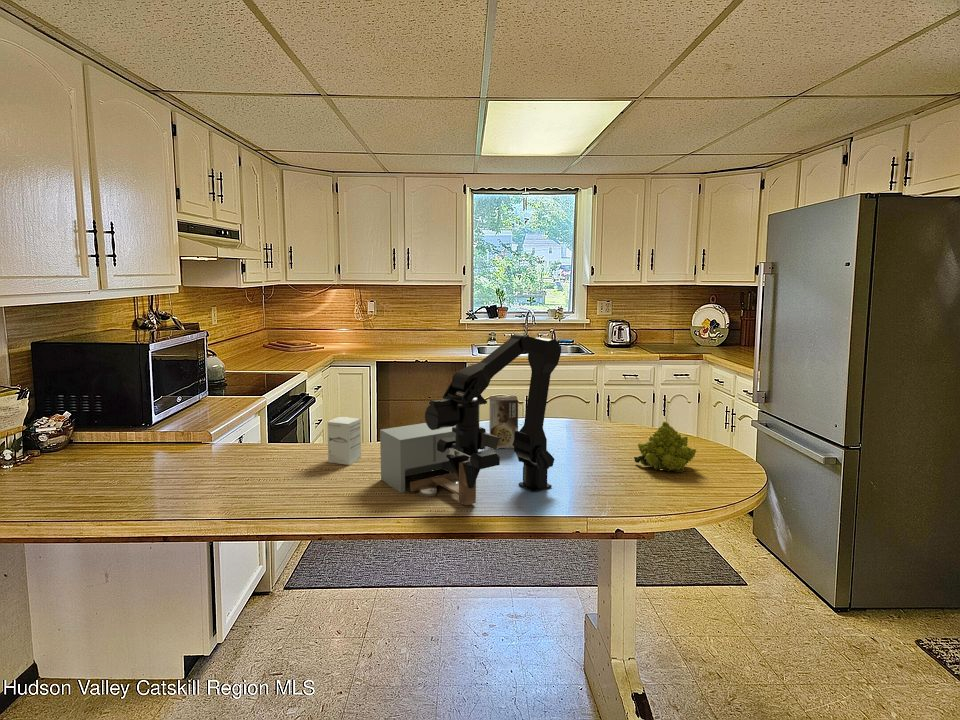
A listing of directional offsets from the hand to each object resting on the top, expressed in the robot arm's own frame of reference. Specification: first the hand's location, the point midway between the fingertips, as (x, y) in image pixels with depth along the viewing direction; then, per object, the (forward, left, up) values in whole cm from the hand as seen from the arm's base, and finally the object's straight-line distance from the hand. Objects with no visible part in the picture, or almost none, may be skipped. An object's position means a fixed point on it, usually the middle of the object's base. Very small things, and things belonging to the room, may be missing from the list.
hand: (467, 485), depth 150 cm
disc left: (+12, +4, -5) cm, 13 cm away
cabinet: (+22, 0, -5) cm, 22 cm away
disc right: (+12, -4, -5) cm, 13 cm away
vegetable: (-8, -63, -5) cm, 64 cm away
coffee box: (+36, -37, -5) cm, 52 cm away
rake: (+7, 0, -4) cm, 8 cm away
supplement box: (+49, +12, -5) cm, 51 cm away
